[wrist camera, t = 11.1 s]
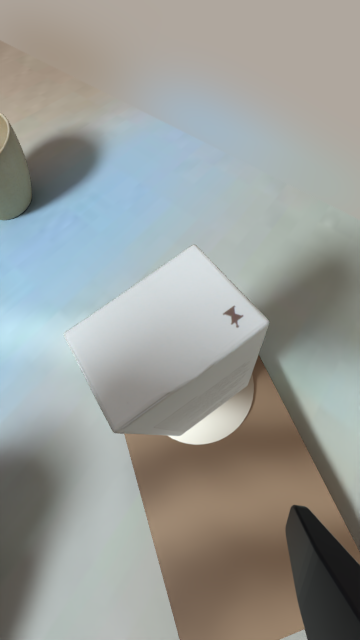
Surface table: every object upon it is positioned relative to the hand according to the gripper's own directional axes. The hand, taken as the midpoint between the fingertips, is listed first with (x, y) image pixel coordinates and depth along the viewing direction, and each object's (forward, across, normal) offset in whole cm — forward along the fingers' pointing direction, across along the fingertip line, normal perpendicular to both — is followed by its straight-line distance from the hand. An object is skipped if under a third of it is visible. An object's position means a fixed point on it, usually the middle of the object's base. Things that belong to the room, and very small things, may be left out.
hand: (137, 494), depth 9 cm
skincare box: (+12, -2, +3) cm, 12 cm away
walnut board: (+10, -4, +7) cm, 13 cm away
